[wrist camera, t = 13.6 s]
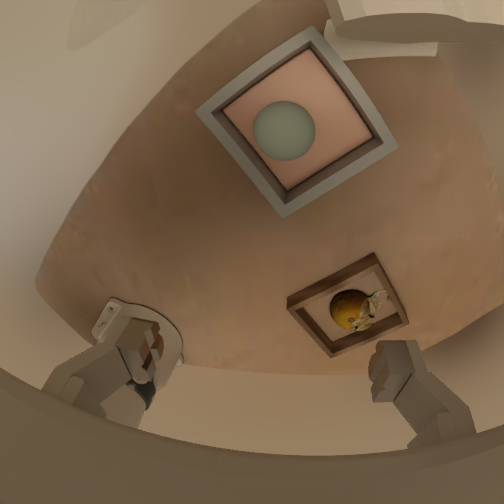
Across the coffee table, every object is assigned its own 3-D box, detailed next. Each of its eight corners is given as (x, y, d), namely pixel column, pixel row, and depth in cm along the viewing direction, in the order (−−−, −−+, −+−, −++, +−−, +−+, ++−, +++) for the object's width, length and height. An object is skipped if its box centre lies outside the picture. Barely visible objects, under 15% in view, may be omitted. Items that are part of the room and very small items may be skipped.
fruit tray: (330, 346, 45) (330, 358, 43) (287, 297, 41) (286, 309, 39) (405, 312, 39) (409, 323, 37) (373, 252, 35) (377, 262, 33)
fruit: (368, 329, 42) (371, 346, 39) (320, 318, 43) (320, 336, 39) (393, 290, 38) (399, 307, 35) (342, 275, 38) (344, 293, 35)
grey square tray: (284, 205, 34) (282, 219, 31) (206, 109, 29) (194, 111, 26) (388, 140, 28) (399, 147, 24) (311, 33, 23) (312, 24, 20)
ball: (318, 154, 29) (293, 181, 26) (270, 134, 31) (240, 158, 28) (329, 105, 25) (303, 125, 22) (275, 87, 26) (241, 104, 23)
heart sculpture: (438, 17, 18) (536, -14, 3) (449, 56, 21) (557, 53, 6) (308, 22, 22) (316, -53, 7) (321, 63, 25) (348, 27, 10)
